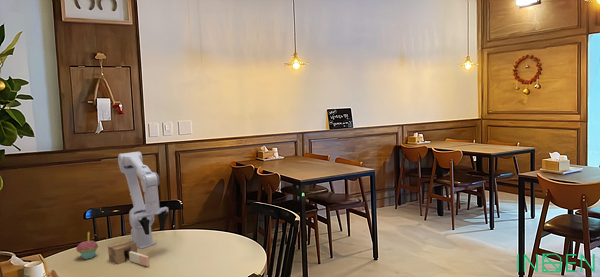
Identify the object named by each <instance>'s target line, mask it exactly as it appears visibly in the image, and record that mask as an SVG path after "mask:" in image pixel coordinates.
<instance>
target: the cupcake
mask: <svg viewBox="0 0 600 277" xmlns="http://www.w3.org/2000/svg"><path fill="white" fill-rule="evenodd" d="M98 248H99V246H98V243H97V241H94V240H90V231H88V232H87V240H85V241H82V242H80V243H79V244H77V246H76V248H75V250H76V253H77V252H78V253H79V254H80V256H81V257H82V259H83V258H84V259H83V260H89V259H88V258H90V259H92V257H93V258H94V257H95V255H96V252H97V249H98Z"/></svg>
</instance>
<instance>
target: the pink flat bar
mask: <svg viewBox="0 0 600 277" xmlns="http://www.w3.org/2000/svg"><path fill="white" fill-rule="evenodd" d="M128 259H129V262H132V263H135V264H137V265H141V266H143V267H150V265H151V263H150V256H148V255H145V254H142V253H140V252H137V253H136V252H133V251H130V252H129V258H128Z"/></svg>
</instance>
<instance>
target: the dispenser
mask: <svg viewBox="0 0 600 277" xmlns="http://www.w3.org/2000/svg"><path fill="white" fill-rule="evenodd" d="M137 249H138V247H137V245H136V243H135V242H132V240H128V239H126V240H123V241H120V242H118V243H115V244H112V245H111V244H110V245H108V246H107V252H108V261H109V262H112V263H116V264H117V265H119V264H122V263H125V262H126V258H128V259H130V258H129V252H130V251H133V252H136V253H138V250H137Z"/></svg>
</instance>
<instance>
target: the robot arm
mask: <svg viewBox="0 0 600 277" xmlns="http://www.w3.org/2000/svg"><path fill="white" fill-rule="evenodd" d="M117 163H118V167H119V170H120V173H121V174H124V176H125V178H126V183H127V186H128V191H129V194H130V199H131V201H132V206H133V207H132V208H131V209H130V210H129V213H128V216H129V218H128V220H129V224H130V227H131V229H130V236H131V237H130V239H131V241H132V242H135V243H136V245H137V249H145V248H148V247H150V246H153V245H156V244H157V242H156V241H153V233H152V226H153V224H154V222H155V216H157V219H158V225H159V230H165V226H166V223H167V222H166V221H167V218H168V217H169V207H167V206H164V207H160V199H159V198H160V197H159V189H158V186H159V185H160V176H159V174H158V173H157V172H153V171H152V170H151V169H150V167H149V166H148V165H147V164H144V163H143V155H142V152H141V151H132V152H125V153H124V152H123V153H118V156H117ZM139 180H140V182H139ZM140 184H141V187H142V189H141V187H140ZM141 190H142V191H141ZM142 192H143V193H144V194H142ZM143 195H144V198H143Z"/></svg>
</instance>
